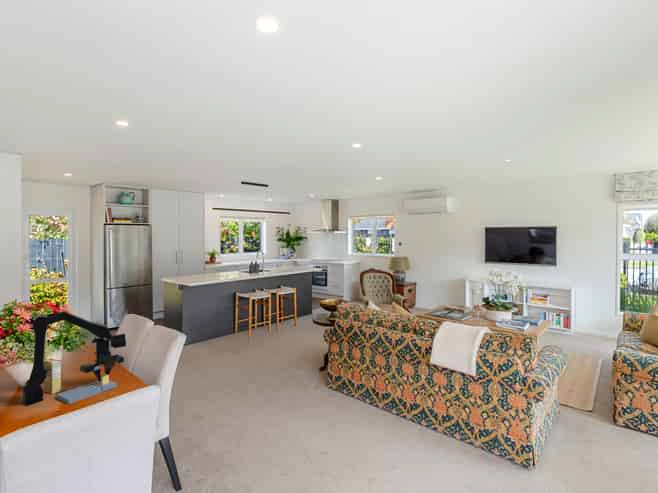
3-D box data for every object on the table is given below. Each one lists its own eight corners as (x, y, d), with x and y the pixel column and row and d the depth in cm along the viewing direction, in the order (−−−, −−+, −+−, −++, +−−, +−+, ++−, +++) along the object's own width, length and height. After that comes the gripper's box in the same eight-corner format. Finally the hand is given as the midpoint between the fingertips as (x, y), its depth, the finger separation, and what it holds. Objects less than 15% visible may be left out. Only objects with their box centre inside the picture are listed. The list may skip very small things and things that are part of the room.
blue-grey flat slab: (68, 404, 159) (68, 399, 159) (56, 398, 165) (56, 393, 165) (101, 392, 171) (101, 388, 171) (88, 387, 177) (88, 383, 177)
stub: (102, 391, 171) (102, 379, 171) (89, 387, 177) (89, 375, 177) (116, 386, 177) (116, 375, 177) (103, 382, 183) (103, 370, 183)
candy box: (41, 391, 173) (41, 360, 173) (51, 388, 177) (51, 358, 177) (52, 394, 170) (51, 363, 169) (61, 390, 173) (61, 360, 173)
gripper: (91, 357, 165) (91, 390, 165) (130, 347, 181) (130, 377, 181) (79, 354, 171) (79, 385, 171) (117, 344, 187) (118, 373, 187)
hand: (103, 380), depth 177 cm, fingers closed on stub, 3 cm apart
